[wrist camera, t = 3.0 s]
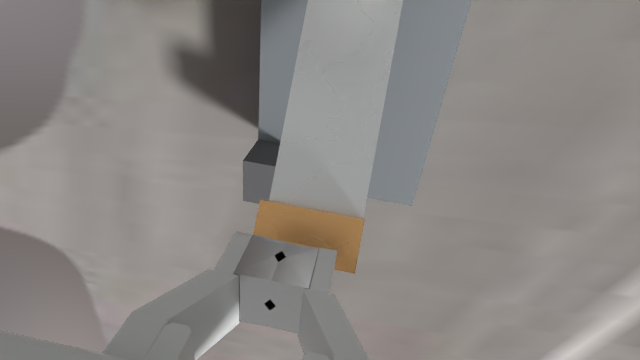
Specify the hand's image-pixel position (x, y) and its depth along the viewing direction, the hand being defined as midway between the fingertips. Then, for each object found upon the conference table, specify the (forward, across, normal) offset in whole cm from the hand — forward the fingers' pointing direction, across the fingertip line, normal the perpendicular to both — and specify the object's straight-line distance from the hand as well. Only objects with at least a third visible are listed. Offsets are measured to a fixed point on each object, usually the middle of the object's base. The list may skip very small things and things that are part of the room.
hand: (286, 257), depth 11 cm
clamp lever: (+9, 0, -3) cm, 10 cm away
